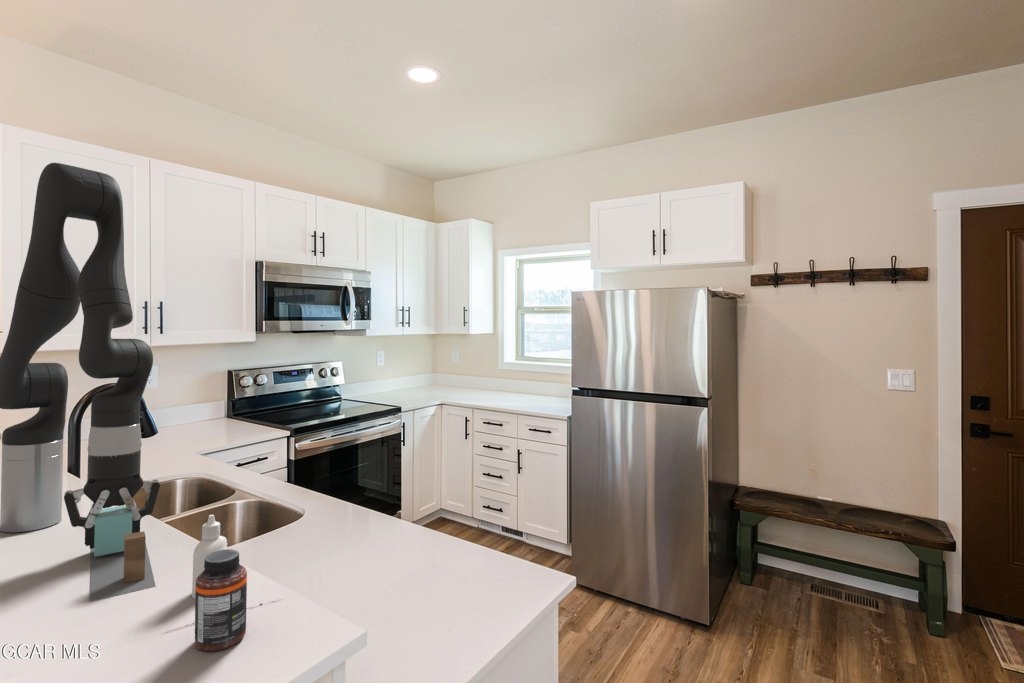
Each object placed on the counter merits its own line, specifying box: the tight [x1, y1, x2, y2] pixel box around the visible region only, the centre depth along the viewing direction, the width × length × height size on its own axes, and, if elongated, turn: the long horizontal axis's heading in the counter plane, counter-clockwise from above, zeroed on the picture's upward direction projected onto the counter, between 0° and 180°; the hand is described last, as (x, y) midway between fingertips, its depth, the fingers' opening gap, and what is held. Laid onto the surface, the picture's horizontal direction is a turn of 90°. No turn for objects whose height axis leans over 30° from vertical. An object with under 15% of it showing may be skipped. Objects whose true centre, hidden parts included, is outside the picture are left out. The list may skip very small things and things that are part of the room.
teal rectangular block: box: [94, 505, 132, 557], centre depth 92 cm, size 5×5×7 cm
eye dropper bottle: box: [191, 514, 228, 599], centre depth 80 cm, size 4×6×12 cm
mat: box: [89, 541, 157, 603], centre depth 87 cm, size 24×8×1 cm, turn 39°
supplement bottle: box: [194, 548, 248, 652], centre depth 67 cm, size 6×6×11 cm
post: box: [124, 530, 147, 584], centre depth 83 cm, size 3×3×7 cm
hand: (112, 542), depth 92 cm, fingers closed on teal rectangular block, 5 cm apart
